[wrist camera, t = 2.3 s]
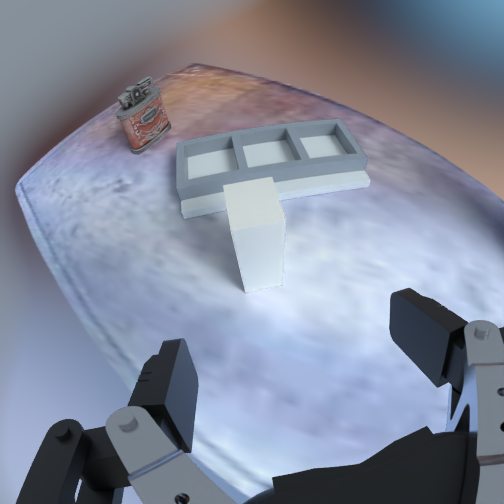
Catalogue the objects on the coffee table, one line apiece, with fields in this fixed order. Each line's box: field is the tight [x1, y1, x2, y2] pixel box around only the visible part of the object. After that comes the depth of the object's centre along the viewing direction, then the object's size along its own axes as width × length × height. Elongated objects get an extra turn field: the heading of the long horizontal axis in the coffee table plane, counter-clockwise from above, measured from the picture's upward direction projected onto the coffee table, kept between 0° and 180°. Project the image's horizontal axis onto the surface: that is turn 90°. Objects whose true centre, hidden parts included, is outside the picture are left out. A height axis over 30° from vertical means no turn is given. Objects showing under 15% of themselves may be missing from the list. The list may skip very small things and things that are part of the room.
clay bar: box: [223, 177, 286, 293], centre depth 23 cm, size 4×4×10 cm
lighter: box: [116, 77, 171, 154], centre depth 36 cm, size 8×3×10 cm, turn 150°
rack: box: [176, 119, 371, 219], centre depth 33 cm, size 22×12×3 cm, turn 100°
